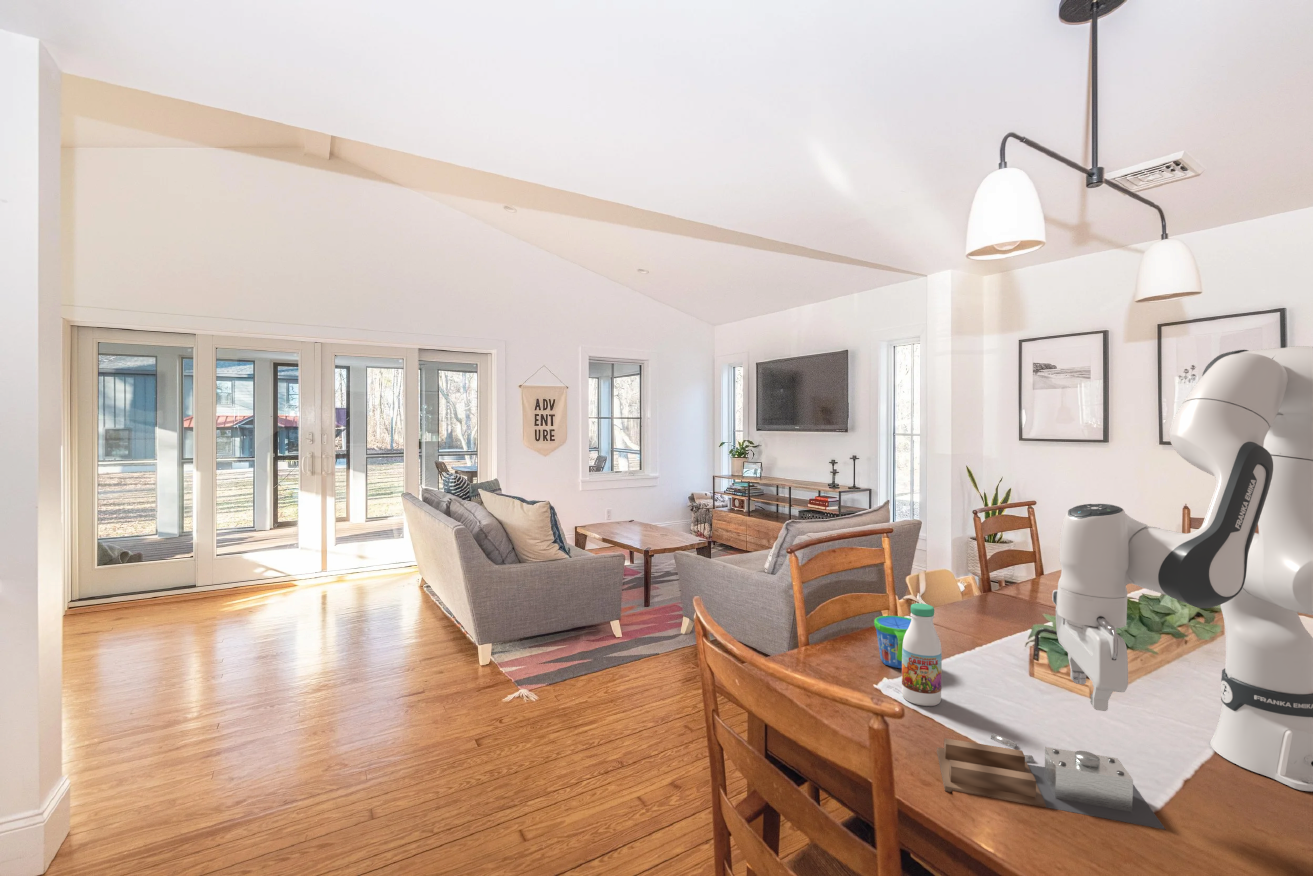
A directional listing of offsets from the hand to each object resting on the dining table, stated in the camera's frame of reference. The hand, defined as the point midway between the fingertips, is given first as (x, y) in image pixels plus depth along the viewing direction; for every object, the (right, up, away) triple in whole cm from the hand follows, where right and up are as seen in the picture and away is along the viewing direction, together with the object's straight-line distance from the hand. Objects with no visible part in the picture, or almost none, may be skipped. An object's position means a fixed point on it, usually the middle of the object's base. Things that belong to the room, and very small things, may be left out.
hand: (1088, 694), depth 95 cm
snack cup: (-9, -15, +52) cm, 55 cm away
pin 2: (-5, -16, +10) cm, 20 cm away
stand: (-13, -16, +5) cm, 21 cm away
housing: (0, -16, +1) cm, 16 cm away
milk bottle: (-12, -15, +33) cm, 39 cm away
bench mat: (0, -16, +1) cm, 16 cm away
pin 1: (-4, -16, +16) cm, 23 cm away
